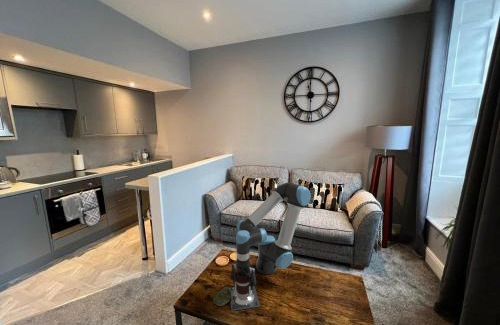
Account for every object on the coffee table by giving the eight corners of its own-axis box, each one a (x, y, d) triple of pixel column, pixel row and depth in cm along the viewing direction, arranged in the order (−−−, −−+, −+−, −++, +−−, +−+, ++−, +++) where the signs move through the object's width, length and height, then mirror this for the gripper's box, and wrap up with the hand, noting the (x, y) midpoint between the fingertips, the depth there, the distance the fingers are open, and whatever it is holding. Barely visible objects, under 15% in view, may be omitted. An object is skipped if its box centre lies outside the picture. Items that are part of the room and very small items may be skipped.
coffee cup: (249, 287, 132) (249, 266, 129) (253, 300, 122) (253, 277, 120) (233, 290, 130) (233, 268, 127) (236, 303, 120) (236, 280, 117)
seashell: (209, 302, 121) (216, 283, 125) (213, 301, 127) (220, 283, 132) (225, 309, 118) (232, 289, 122) (229, 308, 124) (235, 289, 129)
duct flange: (254, 285, 135) (254, 283, 135) (259, 306, 120) (259, 304, 120) (229, 289, 133) (229, 286, 132) (231, 311, 117) (231, 308, 117)
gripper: (223, 257, 122) (224, 291, 126) (258, 265, 114) (258, 302, 118) (229, 250, 129) (230, 283, 133) (262, 257, 121) (262, 292, 125)
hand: (243, 292), depth 126 cm, fingers closed on coffee cup, 8 cm apart
